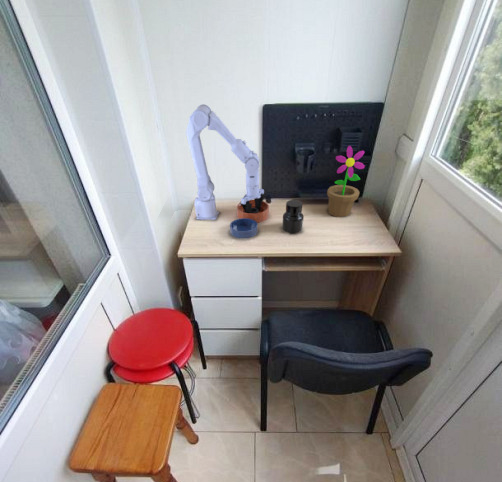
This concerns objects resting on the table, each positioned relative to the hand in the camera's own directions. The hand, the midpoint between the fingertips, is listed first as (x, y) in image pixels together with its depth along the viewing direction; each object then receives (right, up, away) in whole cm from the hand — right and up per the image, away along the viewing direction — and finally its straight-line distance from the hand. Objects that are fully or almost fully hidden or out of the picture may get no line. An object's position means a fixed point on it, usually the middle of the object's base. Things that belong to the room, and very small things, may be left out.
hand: (252, 213), depth 134 cm
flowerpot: (+42, +1, +3) cm, 42 cm away
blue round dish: (-4, -11, -9) cm, 15 cm away
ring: (0, -1, +1) cm, 1 cm away
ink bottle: (+17, -10, -8) cm, 22 cm away
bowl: (0, -1, +1) cm, 2 cm away
